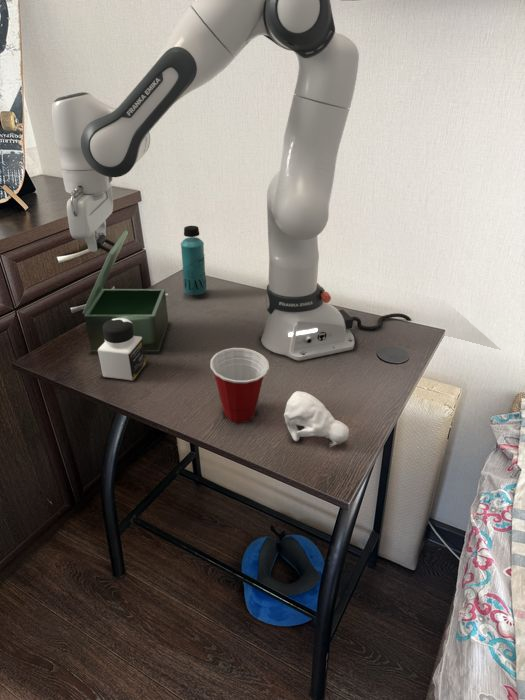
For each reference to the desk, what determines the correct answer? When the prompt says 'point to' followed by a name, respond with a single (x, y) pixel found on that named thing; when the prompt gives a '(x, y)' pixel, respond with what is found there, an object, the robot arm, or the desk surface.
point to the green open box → (130, 315)
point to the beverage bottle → (193, 262)
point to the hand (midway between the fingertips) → (98, 245)
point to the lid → (105, 266)
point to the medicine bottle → (121, 350)
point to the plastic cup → (239, 381)
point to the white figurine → (312, 419)
